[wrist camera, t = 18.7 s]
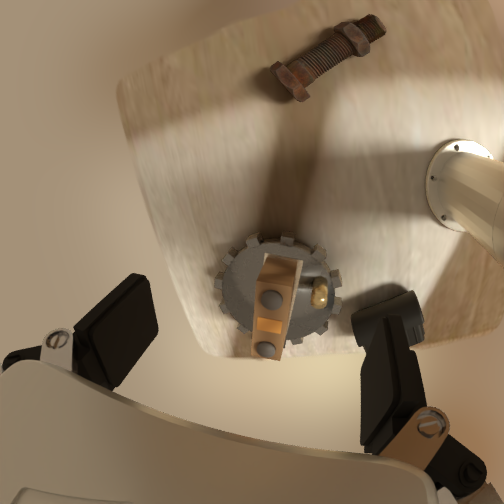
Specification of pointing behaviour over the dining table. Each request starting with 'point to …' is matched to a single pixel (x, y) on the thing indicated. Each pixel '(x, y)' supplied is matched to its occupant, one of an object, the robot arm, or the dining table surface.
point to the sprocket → (305, 288)
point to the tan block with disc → (272, 307)
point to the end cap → (399, 305)
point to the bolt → (329, 54)
